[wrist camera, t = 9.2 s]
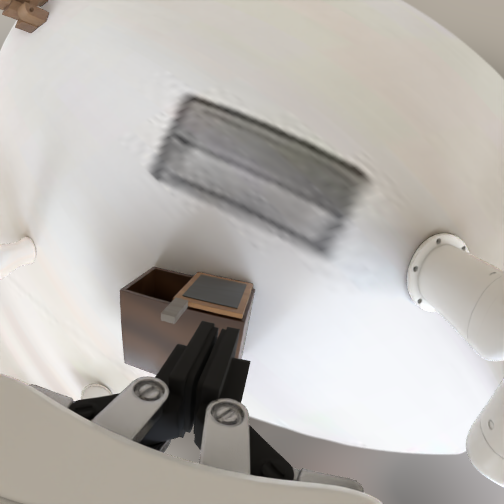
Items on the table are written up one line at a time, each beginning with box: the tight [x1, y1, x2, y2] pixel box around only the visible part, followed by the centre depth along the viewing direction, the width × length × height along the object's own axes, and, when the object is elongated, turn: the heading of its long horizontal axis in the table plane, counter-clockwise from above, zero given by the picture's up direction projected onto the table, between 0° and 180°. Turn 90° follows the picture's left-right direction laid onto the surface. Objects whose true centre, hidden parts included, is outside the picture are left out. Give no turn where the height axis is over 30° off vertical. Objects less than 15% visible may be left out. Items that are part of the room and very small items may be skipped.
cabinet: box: [120, 267, 255, 375], centre depth 37 cm, size 12×16×10 cm
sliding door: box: [161, 272, 253, 324], centre depth 33 cm, size 1×8×14 cm, turn 80°
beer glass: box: [0, 237, 36, 280], centre depth 37 cm, size 7×7×15 cm
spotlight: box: [81, 384, 113, 399], centre depth 49 cm, size 8×11×8 cm
